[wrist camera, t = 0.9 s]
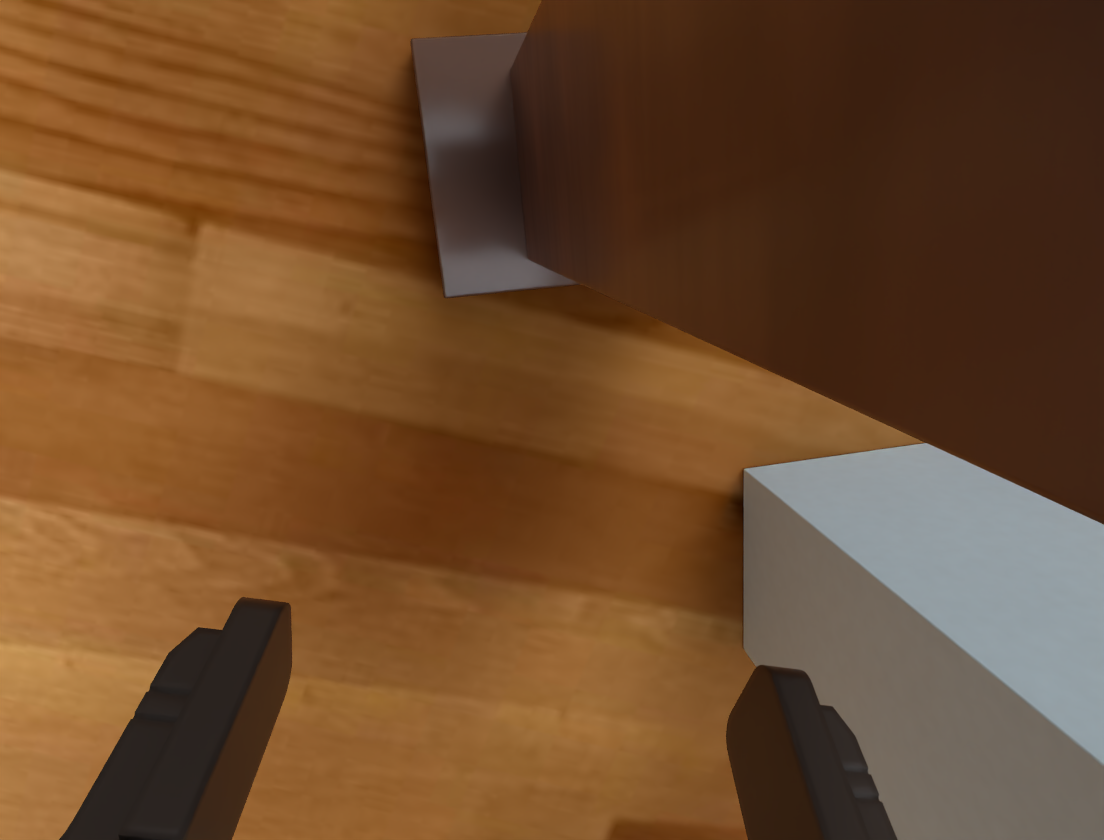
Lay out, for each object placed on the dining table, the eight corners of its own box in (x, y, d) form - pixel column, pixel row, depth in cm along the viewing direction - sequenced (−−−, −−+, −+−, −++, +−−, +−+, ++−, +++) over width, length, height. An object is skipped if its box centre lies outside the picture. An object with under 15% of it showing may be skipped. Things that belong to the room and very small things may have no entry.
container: (736, 462, 28) (1428, 1033, 8) (943, 433, 30) (1977, 873, 10) (736, 655, 31) (1256, 1420, 11) (925, 621, 32) (1695, 1259, 13)
